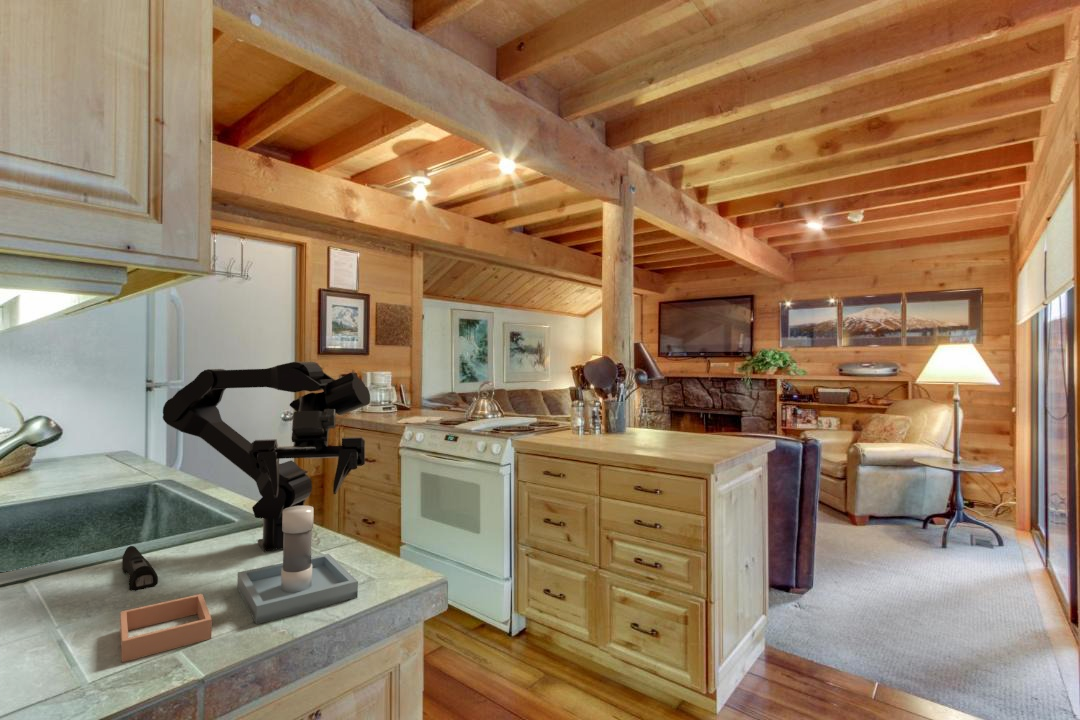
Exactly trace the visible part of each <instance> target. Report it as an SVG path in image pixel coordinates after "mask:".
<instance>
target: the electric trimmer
mask: <svg viewBox="0 0 1080 720" xmlns="http://www.w3.org/2000/svg"><path fill="white" fill-rule="evenodd" d="M121 561H122V564H121V565H122V568H121V569H122V573H124V574H128V576H129V578H128V588H129V590H130V591H133V592H138V591H143V590H146V589H152V588H154V587H156V586H157V585H158V583H159V578H158V577H159V576H158V574H157V572H156V570H155V569H154V567H153V565H151V564H150V563H149V560H147V559H146V558H145V557H144V556H143V554H142V553H141V552H140V551H139V549H138V548H137V547H136V546H134V545H130V546H128V547H127V548H125V550H124V553H123V554H122V558H121Z"/></svg>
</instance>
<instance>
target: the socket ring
mask: <svg viewBox="0 0 1080 720" xmlns="http://www.w3.org/2000/svg"><path fill="white" fill-rule="evenodd" d="M194 615H197V617H198V620H196V621H192V622H187V623H184V624H180V625H179V624H178V625H174V626H171V627H167V628H163V629H158V630H155V631H150V632H146V633H142V634H138V635H133V636H131V637H129V631H131V630H135V629H140V628H144V627H149V626H152V625H156V624H160V623H165V622H170V621H172V620H173V621H174V620H178V619H181V618H185V617H190V616H194ZM212 621H213V619H212V617H211V614H210V611H209V608H208V605H207V603H206V601H205V597H204V595H203V593H198V594H194V595H191V596H189V595H188V596H186V597H182V598H175V599H172V600H166V601H162V602H159V603H154V604H150V605H145V606H140V607H136V608H132V609H127V610H123V611H122V610H121V611H120V649H121V650H120V652H121V663H125V662H128V661H132V660H136V659H139V658H142V657H143V658H144V657H147V656H151V655H154V654H158V653H162V652H165V651H171V650H173V649H176V648H180V647H184V646H188V645H191V644H195V643H199V642H203V641H206V640H211V639H212V630H213V629H212V626H213V625H212V624H213V622H212Z"/></svg>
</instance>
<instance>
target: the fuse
mask: <svg viewBox="0 0 1080 720" xmlns="http://www.w3.org/2000/svg"><path fill="white" fill-rule="evenodd" d="M314 517H315V516H314V507H313V506H311V505H303V506H292V507H288V508H285V509H284V510H283V518H282V531H283V532H284V538H283V548H282V549H283V550H282V563H283V567H282V569H281V590H282V591H284V592H289V593H293V592H300V591H304V590H306V589H308V588H310V587H311V586H312V564H311V557H312V543H313V541H312V534H313V530H312V529H314Z"/></svg>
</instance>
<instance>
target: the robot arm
mask: <svg viewBox="0 0 1080 720" xmlns="http://www.w3.org/2000/svg"><path fill="white" fill-rule="evenodd" d="M245 388H247V389H249V388H270V389H274V390H278V391H283V392H290V393H300V392H309V393H306V394H304V395H302V396H298V398H297V399H295V400H292V401H291V402H290V403H289V407H290V408H292V409H293V410H294V411H293V414H292V427H291V431H292V432H291V443H293V445H289V446H287V445H286V446H279V444H278V441H277V439H275V438H274V439H255V440H253V441H252V442H250V441H249V440H248V439H247V438H246V437H244V436H243V435H241V434H240V433H239V432H238V431H236V430H235V429H234V428H232V427H231V426H230V425H229V424H227V422H225V421H224V420H223V419H222V416H221V414H220V410H219V408H218V407H217V406H218V405H219V404H220V402H221V401H222V399H223V395H224V392H225V390H226V389H245ZM319 391H321V392H319ZM370 394H371V393H370V390H369V388H368V386H366V384H365V383H364V381H363V380H362V379H361V378H360V377H359V376H358V374H357V372H349V373H347V374H345V375H344V376H342V377H340V378H337V379H335V378H333V377H331V376H330V375H328V374H327V373H326V372H324V370H323V369H322V367H321V366H320V365H319V363H317V362H315V361H292V362H291V361H290V362H286V363H282V364H277V365H275V366H272V367H268V368H267V367H266V368H250V369H249V368H248V369H244V368H243V369H224V368H214V369H213V368H211V369H210V368H209V369H204V370H202V371H201V372H200V373H199V374H198V375H197V376H196V377H195V378H194V379H193V380H192V381H190V382H189V383H188V384H186V385H185V386H184V387H182V388H181V389H180V390H178V391H176V393H175V394H174V395H173V396H172V397H171V398H169V399H168V400H167V401H166V402H165V403H164V405H163V408H162V414H163V416H162V420H163V421H164V422H165V424H166V425H168V426H169V427H171V428H173V429H175V430H177V431H179V432H181V433H183V434H184V433H185V434H188V435H191V436H195V437H198V438H200V439H201V440H202V441H204V442H205V443H206V444H208V445H209V446H211V447H212V448H213V449H214V450H215V451H217V452H218V453H220V454H221V455H222V456H223V457H225V458H226V459H227V460H228V461H229V462H231V463H232V464H233V465H235V466H236V467H237V468H238V469H239V470H241V471H242V472H244V473H245V474H246V476H248V477H250V478H252V480H254V481H255V484H256V485H257V489H258V493H259V494H260V496H261V498H260V499H259V500H258V501H257V502H256V503H255V504H254V505H253V506H252V507H251V508H252V512H253V515H254V518H256V519H262V521H263V522H262V538H260V539H257V544H258V545H259V546H260V548H261V550H262V551H264V552H270V551H276V550H280V549H283V538H284V532H283V531H282V518H283V510H284V509H285V508H288V507H292V506H305V502H306V500H307V499H308V498H309V497H310V496H311V494H312V492H313V491H312V490H313V485H312V483H313V482H312V478H311V477H310V476H309V475H308V474H307V473H308V470H306V469H302V468H301V467H300V466H299V465H298V464H297V463H296V462H295V461H293V460H287V461H285V462H282V463H280V460H281V459H282V460H283V459H333V458H335V459H336V458H338V459H337V465H336V470H335V475H334V480H333V486H332V492H333V493H332V494H333V495H336V494H337V493H338V491H339V489H340V487H341V485H342V484H343V482H344V480H345V479H346V478H347V476H349V474H350V473H351V471H352V470H356V469H358V467H363V466H364V465H365V463H366V440H365V439H364V438H363V437H362V436H355V437H354V436H352V437H349V436H348V437H347V436H346V437H342V438H341V445H329V436H330V435H329V434H330V429H332V430H333V429H335V428H336V415H338V416H343V415H345V414H348V413H351V412H354V411H355V410H358V409H361V408H363V407H366V406H368V405H369V404H370V403H371V395H370Z"/></svg>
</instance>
